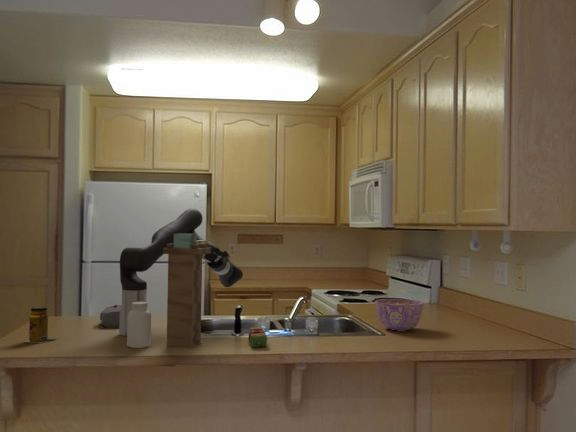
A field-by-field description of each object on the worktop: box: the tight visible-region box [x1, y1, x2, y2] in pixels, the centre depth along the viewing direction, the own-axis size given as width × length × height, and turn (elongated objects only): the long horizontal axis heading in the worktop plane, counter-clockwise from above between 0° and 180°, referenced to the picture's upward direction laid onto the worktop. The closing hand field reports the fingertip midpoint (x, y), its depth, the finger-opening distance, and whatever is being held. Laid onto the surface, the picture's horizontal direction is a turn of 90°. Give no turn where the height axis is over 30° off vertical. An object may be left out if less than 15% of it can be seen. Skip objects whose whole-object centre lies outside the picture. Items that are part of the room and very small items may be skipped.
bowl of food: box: [374, 298, 425, 332], centre depth 227 cm, size 20×20×12 cm
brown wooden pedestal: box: [163, 243, 211, 349], centre depth 194 cm, size 13×13×36 cm
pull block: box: [174, 233, 209, 249], centre depth 200 cm, size 22×6×5 cm, turn 168°
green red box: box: [248, 327, 268, 348], centre depth 195 cm, size 21×6×5 cm, turn 6°
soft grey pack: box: [99, 304, 122, 329], centre depth 232 cm, size 15×8×20 cm
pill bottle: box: [126, 301, 152, 349], centre depth 189 cm, size 8×8×15 cm
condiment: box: [23, 306, 55, 344], centre depth 196 cm, size 7×8×12 cm
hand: (205, 249), depth 218 cm, fingers open, 8 cm apart
